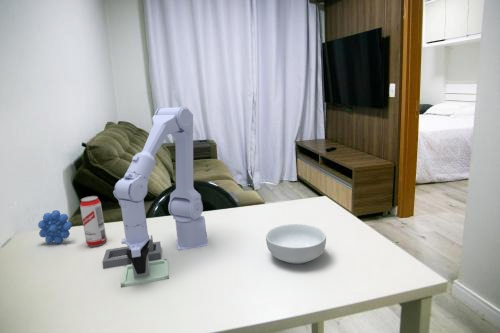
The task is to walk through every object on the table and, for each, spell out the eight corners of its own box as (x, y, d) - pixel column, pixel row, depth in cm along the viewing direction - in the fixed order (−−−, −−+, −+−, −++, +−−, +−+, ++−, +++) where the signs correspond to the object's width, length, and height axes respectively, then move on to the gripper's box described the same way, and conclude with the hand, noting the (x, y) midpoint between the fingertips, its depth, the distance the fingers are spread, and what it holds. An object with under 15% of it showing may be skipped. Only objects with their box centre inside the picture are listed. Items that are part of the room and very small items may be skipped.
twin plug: (154, 252, 106) (152, 234, 105) (154, 258, 103) (151, 239, 101) (141, 255, 105) (138, 236, 104) (140, 260, 102) (137, 241, 101)
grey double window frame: (161, 248, 109) (159, 240, 108) (161, 260, 101) (159, 251, 100) (107, 257, 105) (106, 248, 104) (103, 269, 97) (102, 260, 97)
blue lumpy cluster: (81, 237, 121) (75, 205, 118) (70, 246, 114) (64, 212, 112) (49, 238, 121) (43, 206, 119) (37, 247, 115) (30, 213, 112)
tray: (168, 262, 100) (167, 258, 99) (169, 280, 90) (168, 275, 90) (125, 269, 97) (124, 265, 97) (121, 288, 87) (120, 284, 87)
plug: (150, 269, 95) (147, 249, 94) (149, 275, 92) (146, 254, 91) (135, 272, 94) (132, 251, 93) (134, 278, 91) (131, 257, 90)
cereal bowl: (331, 248, 102) (331, 226, 101) (318, 277, 88) (317, 252, 86) (278, 241, 110) (277, 220, 108) (257, 266, 95) (256, 242, 93)
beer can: (99, 248, 112) (91, 201, 108) (82, 247, 113) (74, 201, 109) (110, 239, 118) (103, 195, 114) (94, 239, 119) (87, 195, 115)
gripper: (121, 215, 96) (128, 259, 99) (115, 235, 82) (123, 286, 85) (147, 211, 97) (153, 255, 101) (146, 231, 84) (152, 281, 87)
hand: (141, 269), depth 93 cm, fingers closed on plug, 3 cm apart
